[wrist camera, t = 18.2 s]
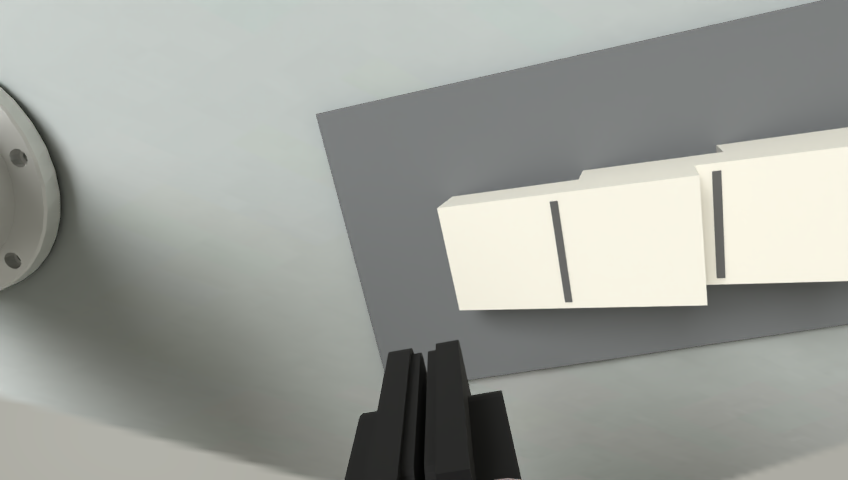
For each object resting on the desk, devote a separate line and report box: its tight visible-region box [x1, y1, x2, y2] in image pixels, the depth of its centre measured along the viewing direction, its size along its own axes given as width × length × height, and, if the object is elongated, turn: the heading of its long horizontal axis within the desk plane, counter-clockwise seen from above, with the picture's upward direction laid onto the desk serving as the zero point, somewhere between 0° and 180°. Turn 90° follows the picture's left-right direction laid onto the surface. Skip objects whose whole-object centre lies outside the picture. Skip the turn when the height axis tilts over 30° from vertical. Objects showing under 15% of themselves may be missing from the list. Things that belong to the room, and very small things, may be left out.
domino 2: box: [579, 135, 848, 285], centre depth 19 cm, size 2×5×10 cm
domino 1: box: [437, 164, 707, 310], centre depth 20 cm, size 2×5×10 cm
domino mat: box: [316, 0, 848, 380], centre depth 22 cm, size 30×15×1 cm, turn 102°
